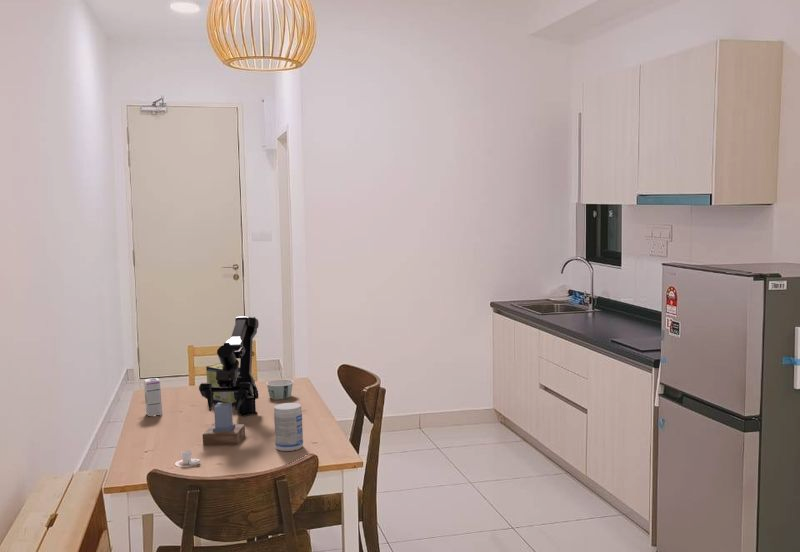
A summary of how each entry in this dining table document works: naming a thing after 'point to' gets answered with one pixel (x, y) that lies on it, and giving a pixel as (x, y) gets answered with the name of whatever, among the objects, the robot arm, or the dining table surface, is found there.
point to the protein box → (211, 378)
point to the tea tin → (223, 417)
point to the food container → (280, 388)
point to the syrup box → (153, 396)
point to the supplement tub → (288, 426)
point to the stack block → (224, 436)
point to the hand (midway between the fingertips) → (222, 410)
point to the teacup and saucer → (187, 459)
